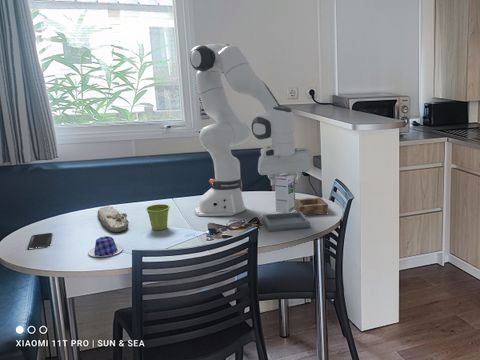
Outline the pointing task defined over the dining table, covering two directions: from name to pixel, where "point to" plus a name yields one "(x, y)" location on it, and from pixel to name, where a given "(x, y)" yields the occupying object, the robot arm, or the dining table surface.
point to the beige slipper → (113, 219)
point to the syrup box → (285, 193)
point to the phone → (40, 240)
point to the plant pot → (158, 216)
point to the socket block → (311, 206)
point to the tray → (286, 221)
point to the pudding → (105, 247)
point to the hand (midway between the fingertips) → (284, 184)
